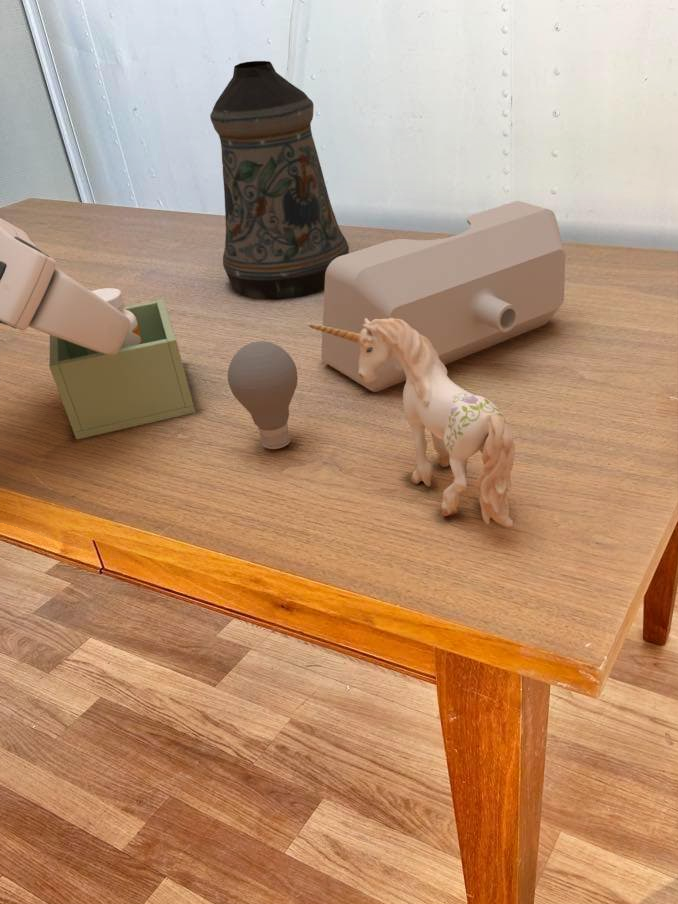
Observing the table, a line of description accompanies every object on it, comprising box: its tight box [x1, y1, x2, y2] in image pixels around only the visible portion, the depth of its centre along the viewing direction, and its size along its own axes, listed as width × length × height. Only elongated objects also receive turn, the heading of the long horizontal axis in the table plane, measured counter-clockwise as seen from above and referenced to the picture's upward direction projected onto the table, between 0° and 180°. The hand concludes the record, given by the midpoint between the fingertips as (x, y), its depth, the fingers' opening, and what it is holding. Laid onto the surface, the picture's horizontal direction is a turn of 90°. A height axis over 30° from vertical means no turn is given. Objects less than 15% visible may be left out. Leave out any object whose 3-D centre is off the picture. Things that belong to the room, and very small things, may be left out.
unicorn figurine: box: [306, 318, 516, 528], centre depth 66 cm, size 7×20×13 cm, turn 46°
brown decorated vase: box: [209, 60, 350, 301], centre depth 106 cm, size 16×19×25 cm
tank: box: [320, 200, 566, 393], centre depth 86 cm, size 25×16×12 cm, turn 125°
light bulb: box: [227, 341, 298, 450], centre depth 75 cm, size 6×6×10 cm
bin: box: [48, 298, 196, 440], centre depth 85 cm, size 12×12×8 cm
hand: (118, 335), depth 83 cm, fingers closed on supplement bottle, 5 cm apart
